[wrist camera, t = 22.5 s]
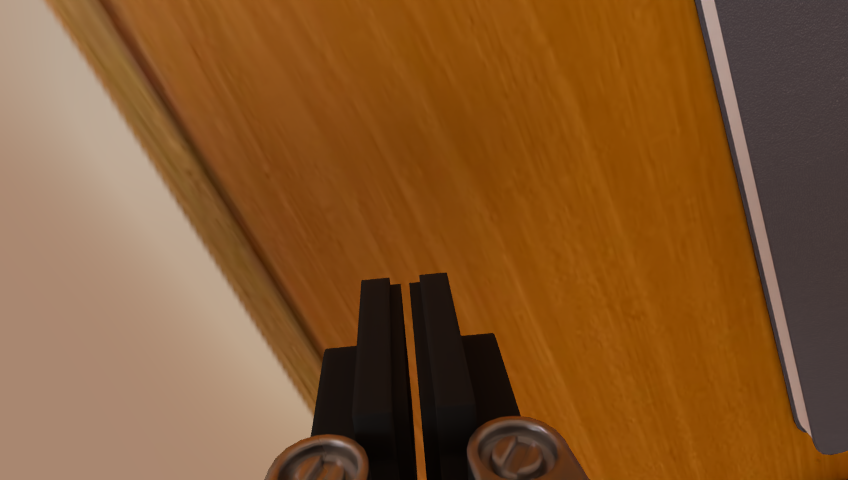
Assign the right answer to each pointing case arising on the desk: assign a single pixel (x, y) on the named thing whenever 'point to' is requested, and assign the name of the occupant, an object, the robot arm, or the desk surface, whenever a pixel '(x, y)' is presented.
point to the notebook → (793, 184)
